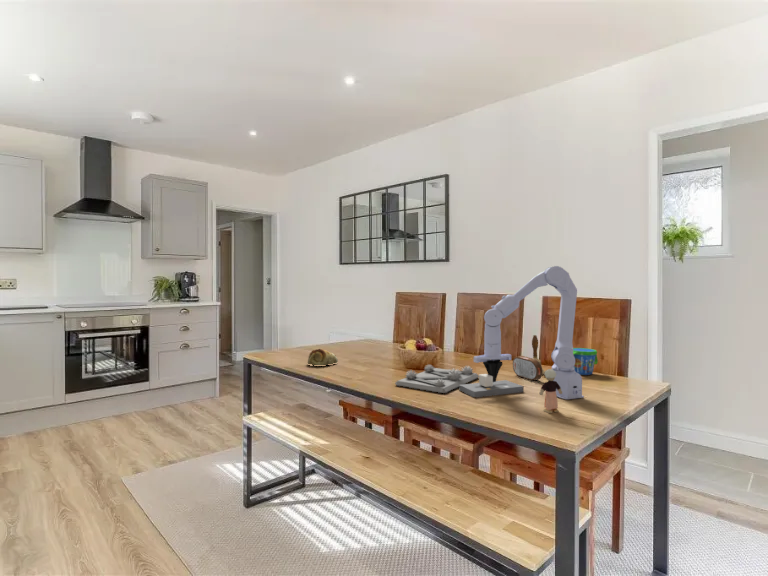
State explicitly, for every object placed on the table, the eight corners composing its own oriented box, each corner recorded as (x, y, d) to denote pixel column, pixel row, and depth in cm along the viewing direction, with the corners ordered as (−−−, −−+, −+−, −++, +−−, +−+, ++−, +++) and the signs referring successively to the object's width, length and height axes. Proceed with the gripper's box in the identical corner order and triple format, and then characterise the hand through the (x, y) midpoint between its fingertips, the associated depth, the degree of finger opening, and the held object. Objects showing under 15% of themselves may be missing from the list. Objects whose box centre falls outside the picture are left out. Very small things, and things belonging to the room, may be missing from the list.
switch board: (523, 391, 149) (523, 386, 149) (474, 397, 142) (474, 391, 142) (506, 385, 159) (506, 380, 159) (459, 390, 152) (459, 384, 152)
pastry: (305, 367, 194) (304, 350, 194) (310, 362, 206) (309, 346, 206) (335, 367, 194) (335, 350, 194) (338, 362, 206) (338, 345, 206)
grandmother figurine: (553, 407, 131) (553, 366, 130) (564, 411, 127) (564, 369, 127) (535, 411, 127) (535, 369, 127) (546, 415, 124) (546, 371, 123)
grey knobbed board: (433, 373, 183) (433, 356, 183) (480, 379, 170) (480, 361, 170) (393, 387, 159) (393, 368, 159) (444, 396, 146) (444, 375, 146)
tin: (543, 382, 164) (543, 360, 164) (536, 382, 163) (536, 360, 163) (517, 374, 178) (517, 354, 178) (511, 374, 177) (511, 354, 177)
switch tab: (492, 386, 148) (492, 376, 148) (485, 386, 147) (485, 376, 147) (486, 383, 152) (486, 373, 152) (479, 384, 151) (479, 374, 151)
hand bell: (547, 375, 176) (547, 336, 175) (526, 374, 177) (526, 336, 177) (543, 370, 184) (543, 334, 184) (523, 370, 185) (523, 333, 185)
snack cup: (587, 369, 185) (587, 346, 185) (607, 374, 175) (607, 350, 175) (558, 372, 180) (558, 348, 180) (577, 377, 170) (577, 352, 170)
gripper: (503, 340, 157) (502, 377, 157) (468, 342, 152) (468, 380, 152) (515, 343, 150) (515, 381, 150) (479, 345, 145) (479, 385, 145)
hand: (492, 381), depth 151 cm, fingers closed
